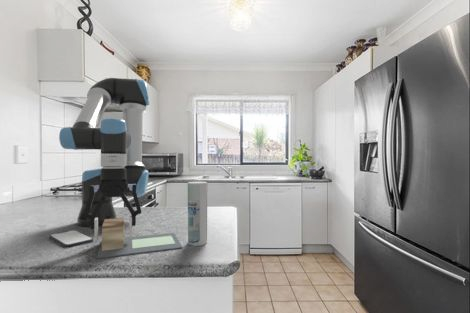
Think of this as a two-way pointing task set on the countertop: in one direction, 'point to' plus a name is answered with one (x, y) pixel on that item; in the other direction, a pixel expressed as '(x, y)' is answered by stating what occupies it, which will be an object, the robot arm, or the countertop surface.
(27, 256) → the countertop surface
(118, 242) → the box
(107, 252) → the mat
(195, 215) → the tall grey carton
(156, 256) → the countertop surface
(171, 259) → the countertop surface
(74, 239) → the phone case
